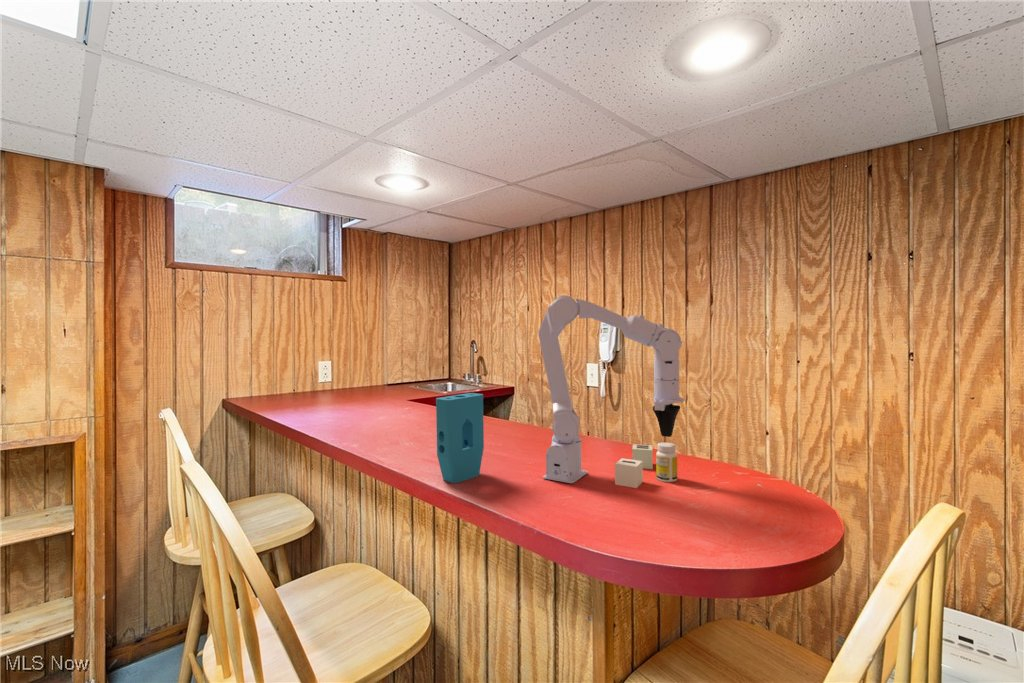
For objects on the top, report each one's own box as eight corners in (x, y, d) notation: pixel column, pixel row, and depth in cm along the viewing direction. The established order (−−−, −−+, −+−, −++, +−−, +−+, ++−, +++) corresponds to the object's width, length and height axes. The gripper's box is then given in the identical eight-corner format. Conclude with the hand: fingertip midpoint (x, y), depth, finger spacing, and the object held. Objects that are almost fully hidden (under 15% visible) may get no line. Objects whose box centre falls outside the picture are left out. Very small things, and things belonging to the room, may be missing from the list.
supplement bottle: (672, 475, 112) (672, 441, 112) (680, 482, 108) (680, 446, 107) (653, 476, 112) (653, 442, 112) (660, 482, 108) (660, 447, 107)
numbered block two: (652, 469, 118) (652, 449, 118) (632, 468, 119) (632, 448, 119) (652, 464, 123) (652, 444, 123) (633, 462, 124) (633, 443, 124)
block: (449, 485, 107) (448, 400, 107) (435, 481, 111) (434, 398, 110) (485, 473, 116) (484, 394, 116) (472, 469, 119) (471, 392, 119)
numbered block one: (636, 488, 104) (636, 465, 104) (615, 484, 107) (615, 462, 107) (642, 482, 109) (642, 460, 108) (621, 478, 111) (621, 457, 111)
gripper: (677, 383, 101) (677, 444, 101) (690, 377, 113) (690, 431, 114) (645, 381, 105) (645, 441, 105) (660, 375, 117) (660, 428, 118)
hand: (666, 436), depth 110 cm, fingers closed
